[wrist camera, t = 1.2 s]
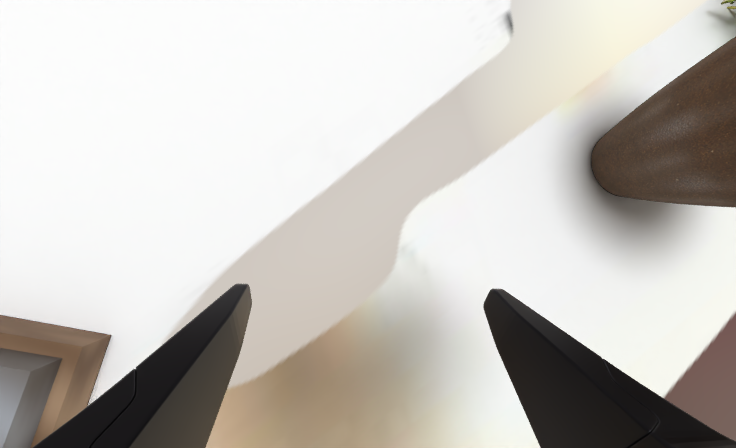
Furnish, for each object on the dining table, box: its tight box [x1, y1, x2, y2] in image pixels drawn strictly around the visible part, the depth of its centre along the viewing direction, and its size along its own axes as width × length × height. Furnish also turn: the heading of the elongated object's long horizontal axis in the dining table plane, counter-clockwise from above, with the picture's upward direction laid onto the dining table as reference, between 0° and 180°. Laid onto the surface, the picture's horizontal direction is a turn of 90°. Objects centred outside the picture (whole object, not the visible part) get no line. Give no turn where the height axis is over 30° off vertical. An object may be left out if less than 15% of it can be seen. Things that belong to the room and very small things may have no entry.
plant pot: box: [591, 37, 736, 207], centre depth 22 cm, size 15×15×16 cm
